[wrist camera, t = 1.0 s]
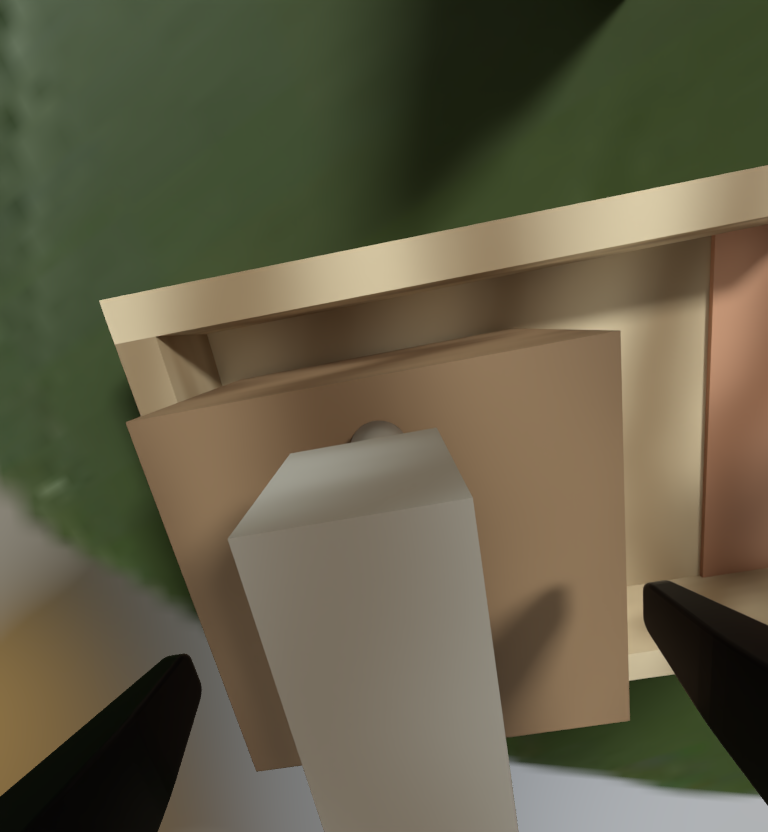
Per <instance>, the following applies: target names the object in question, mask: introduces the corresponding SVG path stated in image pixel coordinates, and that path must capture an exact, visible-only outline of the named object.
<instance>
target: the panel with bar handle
mask: <svg viewBox="0 0 768 832" xmlns="http://www.w3.org/2000/svg"><path fill="white" fill-rule="evenodd" d="M126 425H127V428H128V430H129V433H130V436H131V438H132V441H133V444H134V446H135V449H136V452H137V454H138V457H139V460H140V462H141V465H142V468H143V470H144V473H145V476H146V478H147V481H148V484H149V486H150V489H151V492H152V494H153V497H154V500H155V502H156V505H157V508H158V510H159V513H160V516H161V518H162V521H163V524H164V526H165V529H166V532H167V534H168V537H169V540H170V542H171V545H172V548H173V550H174V553H175V556H176V558H177V561H178V564H179V566H180V569H181V572H182V574H183V577H184V580H185V582H186V585H187V588H188V590H189V593H190V596H191V598H192V601H193V604H194V606H195V609H196V612H197V614H198V617H199V620H200V622H201V625H202V628H203V630H204V633H205V636H206V638H207V641H208V643H209V646H210V649H211V652H212V654H213V657H214V660H215V662H216V665H217V667H218V670H219V673H220V676H221V678H222V681H223V684H224V686H225V689H226V691H227V694H228V697H229V699H230V702H231V705H232V708H233V710H234V713H235V716H236V718H237V721H238V723H239V726H240V729H241V731H242V734H243V737H244V739H245V742H246V745H247V747H248V750H249V753H250V755H251V758H252V761H253V763H254V766H255V769H256V771H264V770H272V769H279V768H286V767H294V766H301V765H302V766H303V769H304V772H305V775H306V778H307V781H308V784H309V787H310V790H311V793H312V796H313V799H314V802H315V805H316V808H317V811H318V814H319V817H320V820H321V823H322V826H323V830H324V832H518V824H517V817H516V809H515V803H514V795H513V787H512V780H511V773H510V765H509V758H508V751H507V744H506V737H514V736H521V735H528V734H536V733H543V732H550V731H558V730H565V729H572V728H580V727H587V726H594V725H602V724H609V723H616V722H624V721H630V706H629V664H628V622H627V580H626V538H625V496H624V454H623V412H622V370H621V330H572V329H522V328H511V329H506V330H501V331H495V332H490V333H485V334H479V335H474V336H469V337H463V338H458V339H453V340H447V341H442V342H437V343H432V344H426V345H421V346H416V347H410V348H405V349H400V350H394V351H389V352H384V353H378V354H373V355H368V356H362V357H357V358H352V359H347V360H341V361H336V362H331V363H325V364H320V365H315V366H309V367H304V368H299V369H293V370H288V371H283V372H277V373H272V374H267V375H262V376H256V377H251V378H246V379H240V380H237V381H235V382H232V383H229V384H227V385H224V386H221V387H219V388H216V389H213V390H211V391H208V392H205V393H203V394H200V395H197V396H195V397H192V398H189V399H187V400H184V401H181V402H178V403H176V404H173V405H170V406H168V407H165V408H162V409H160V410H157V411H154V412H152V413H149V414H146V415H144V416H141V417H138V418H136V419H133V420H130V421H128V422H126Z"/></svg>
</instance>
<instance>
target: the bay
mask: <svg viewBox="0 0 768 832" xmlns="http://www.w3.org/2000/svg"><path fill="white" fill-rule="evenodd" d="M99 302H100V305H101V308H102V310H103V313H104V316H105V319H106V321H107V324H108V327H109V330H110V332H111V335H112V338H113V341H114V343H115V346H116V349H117V352H118V354H119V357H120V360H121V363H122V366H123V368H124V371H125V374H126V377H127V379H128V382H129V385H130V388H131V390H132V393H133V396H134V399H135V401H136V404H137V407H138V410H139V412H140V415H141V416H144V415H146V414H149V413H152V412H154V411H157V410H160V409H162V408H165V407H168V406H170V405H173V404H176V403H178V402H181V401H184V400H187V399H189V398H192V397H195V396H197V395H200V394H203V393H205V392H208V391H211V390H213V389H216V388H219V387H221V386H224V385H227V384H229V383H232V382H235V381H237V380H240V379H246V378H251V377H256V376H262V375H267V374H272V373H277V372H283V371H288V370H293V369H299V368H304V367H309V366H315V365H320V364H325V363H331V362H336V361H341V360H347V359H352V358H357V357H362V356H368V355H373V354H378V353H384V352H389V351H394V350H400V349H405V348H410V347H416V346H421V345H426V344H432V343H437V342H442V341H447V340H453V339H458V338H463V337H469V336H474V335H479V334H485V333H490V332H495V331H501V330H506V329H511V328H522V329H572V330H621V370H622V412H623V454H624V496H625V538H626V580H627V622H628V664H629V681H630V680H637V679H644V678H651V677H658V676H665V675H672V674H675V673H674V672H673V670H672V669H671V667H670V666H669V664H668V662H667V661H666V659H665V658H664V656H663V655H662V653H661V652H660V650H659V648H658V647H657V645H656V644H655V642H654V641H653V639H652V637H651V636H650V634H649V633H648V631H647V629H646V626H645V624H644V620H643V587H644V585H645V584H646V583H648V582H655V581H661V580H668V581H671V582H674V583H676V584H678V585H681V586H683V587H685V588H687V589H689V590H692V591H694V592H696V593H698V594H700V595H703V596H705V597H707V598H709V599H711V600H714V601H716V602H718V603H720V604H722V605H725V606H727V607H729V608H731V609H733V610H736V611H738V612H740V613H742V614H745V615H747V616H749V617H751V618H753V619H756V620H758V621H760V622H762V623H764V624H767V625H768V165H766V166H762V167H757V168H752V169H747V170H742V171H737V172H732V173H727V174H722V175H717V176H712V177H707V178H702V179H697V180H692V181H687V182H682V183H678V184H673V185H668V186H663V187H658V188H653V189H648V190H643V191H638V192H633V193H628V194H623V195H618V196H613V197H608V198H603V199H598V200H593V201H589V202H584V203H579V204H574V205H569V206H564V207H559V208H554V209H549V210H544V211H539V212H534V213H529V214H524V215H519V216H514V217H509V218H504V219H500V220H495V221H490V222H485V223H480V224H475V225H470V226H465V227H460V228H455V229H450V230H445V231H440V232H435V233H430V234H425V235H420V236H415V237H411V238H406V239H401V240H396V241H391V242H386V243H381V244H376V245H371V246H366V247H361V248H356V249H351V250H346V251H341V252H336V253H331V254H327V255H322V256H317V257H312V258H307V259H302V260H297V261H292V262H287V263H282V264H277V265H272V266H267V267H262V268H257V269H252V270H247V271H242V272H238V273H233V274H228V275H223V276H218V277H213V278H208V279H203V280H198V281H193V282H188V283H183V284H178V285H173V286H168V287H163V288H158V289H153V290H149V291H144V292H139V293H134V294H129V295H124V296H119V297H114V298H109V299H104V300H99Z"/></svg>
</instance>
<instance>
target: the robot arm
mask: <svg viewBox="0 0 768 832" xmlns="http://www.w3.org/2000/svg"><path fill="white" fill-rule="evenodd" d="M643 620H644V624H645V626H646V629H647V631H648V633H649V634H650V636H651V637H652V639H653V641H654V642H655V644H656V645H657V647H658V648H659V650H660V652H661V653H662V655H663V656H664V658H665V659H666V661H667V662H668V664H669V666H670V667H671V669H672V670H673V672H674V673H675V675H676V677H677V678H678V680H679V681H680V683H681V684H682V686H683V688H684V689H685V691H686V692H687V694H688V695H689V697H690V699H691V700H692V702H693V703H694V705H695V706H696V708H697V710H698V711H699V713H700V714H701V716H702V717H703V719H704V720H705V722H706V723H707V725H708V726H709V727H710V729H711V730H712V732H713V733H714V734H715V736H716V737H717V738H718V740H719V741H720V743H721V744H722V745H723V747H724V748H725V749H726V751H727V752H728V753H729V755H730V756H731V757H732V759H733V760H734V761H735V763H736V764H737V765H738V767H739V768H740V769H741V771H742V772H743V773H744V775H745V776H746V777H747V779H748V780H749V781H750V783H751V784H752V785H753V787H754V788H755V789H756V791H757V792H758V793H759V795H760V796H761V797H762V799H763V800H764V801H765V802H766V804H767V805H768V625H767V624H764V623H762V622H760V621H758V620H756V619H753V618H751V617H749V616H747V615H745V614H742V613H740V612H738V611H736V610H733V609H731V608H729V607H727V606H725V605H722V604H720V603H718V602H716V601H714V600H711V599H709V598H707V597H705V596H703V595H700V594H698V593H696V592H694V591H692V590H689V589H687V588H685V587H683V586H681V585H678V584H676V583H674V582H671V581H668V580H661V581H655V582H648V583H646V584H645V585H644V587H643ZM200 698H201V683H200V680H199V678H198V675H197V672H196V670H195V667H194V665H193V662H192V660H191V658H190V656H189V655H187V654H179V655H172V656H168V657H165V658H164V659H162V660H161V661H160V662H159V663H158V664H157V665H155V666H154V667H153V668H152V669H151V670H150V671H148V672H147V673H146V674H145V675H143V676H142V677H141V678H140V679H139V680H137V681H136V682H135V683H134V684H133V685H132V686H131V687H129V688H128V689H127V690H126V691H125V692H123V693H122V694H121V695H120V696H119V697H118V698H116V699H115V700H114V701H113V702H111V703H110V704H109V705H108V706H107V707H106V708H104V709H103V710H102V711H101V712H100V713H98V714H97V715H96V716H95V717H94V718H93V719H91V720H90V721H89V722H88V723H87V724H86V725H84V726H83V727H82V728H81V729H80V730H78V731H77V732H76V733H75V734H74V735H72V736H71V737H70V738H69V739H68V740H67V741H65V742H64V743H63V744H62V745H61V746H59V747H58V748H57V749H56V750H55V751H54V752H52V753H51V754H50V755H49V756H48V757H46V758H45V759H44V760H43V761H42V762H41V763H40V764H38V765H37V766H36V767H35V768H33V769H32V770H31V771H30V772H29V773H28V774H26V775H25V776H24V777H23V778H22V779H20V780H19V781H18V782H17V783H16V784H15V785H13V786H12V787H11V788H10V789H9V790H8V791H6V792H5V793H4V794H3V795H2V796H0V832H158V829H159V827H160V824H161V822H162V819H163V816H164V813H165V810H166V808H167V805H168V802H169V800H170V797H171V794H172V791H173V788H174V784H175V781H176V778H177V775H178V772H179V768H180V765H181V762H182V758H183V755H184V752H185V748H186V745H187V742H188V738H189V735H190V731H191V728H192V725H193V722H194V718H195V715H196V712H197V708H198V705H199V702H200Z"/></svg>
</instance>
